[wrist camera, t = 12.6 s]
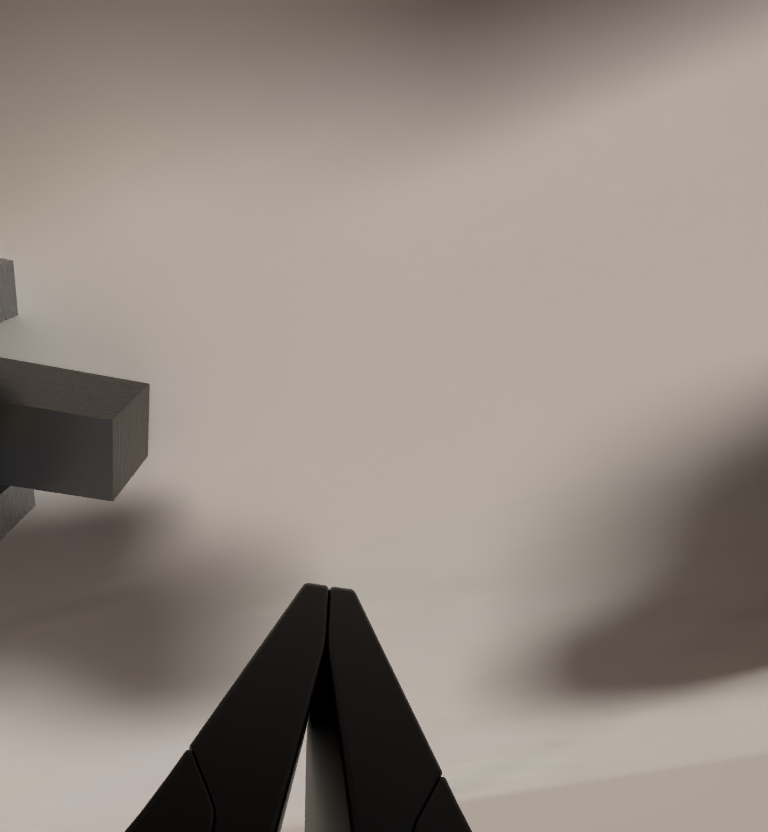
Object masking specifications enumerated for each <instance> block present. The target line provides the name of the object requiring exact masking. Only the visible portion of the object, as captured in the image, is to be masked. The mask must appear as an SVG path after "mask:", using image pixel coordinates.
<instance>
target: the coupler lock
mask: <svg viewBox="0 0 768 832" xmlns="http://www.w3.org/2000/svg"><path fill="white" fill-rule="evenodd" d="M16 315H18V310H17V299H16V288H15V277H14V266H13V260H7V259H2V258H0V322H2V321H4V320H7V319H9V318H12V317H14V316H16ZM34 506H35V498H34V489H29V488H22V487H15V486H9V485H2V484H0V541H1V540H2V539H3V537H4V536H5V535H6V534H7V533H8V532H9V531H10V530H11V529H12V528H13V527H14V526H15V525H16V524H17V523H18V522H19V521H20V520H21V519H22V518H23V517H24V516H25V515H26V514H27V513H28V512H29V511H30V510H31V509H32V508H33V507H34Z"/></svg>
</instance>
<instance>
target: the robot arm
mask: <svg viewBox="0 0 768 832" xmlns="http://www.w3.org/2000/svg"><path fill="white" fill-rule="evenodd" d="M307 722H308V726H307ZM306 727H307V744H306V794H305V832H472V831H471V829H470V827H469V825H468V823H467V821H466V819H465V817H464V815H463V813H462V811H461V810H460V808H459V806H458V804H457V801H456V799H455V797H454V795H453V793H452V791H451V789H450V787H449V785H448V783H447V781H446V779H445V777H441V775H442V771H441V769H440V767H439V765H438V763H437V760H436V758H435V756H434V754H433V752H432V750H431V748H430V746H429V744H428V742H427V740H426V738H425V736H424V734H423V732H422V729H421V727H420V725H419V723H418V721H417V719H416V717H415V715H414V713H413V711H412V709H411V707H410V705H409V703H408V700H407V698H406V696H405V694H404V692H403V690H402V688H401V686H400V684H399V682H398V680H397V678H396V676H395V674H394V672H393V669H392V667H391V665H390V663H389V661H388V659H387V657H386V655H385V653H384V651H383V649H382V647H381V645H380V643H379V641H378V638H377V636H376V634H375V632H374V630H373V628H372V626H371V624H370V622H369V620H368V618H367V616H366V614H365V612H364V610H363V607H362V605H361V603H360V601H359V599H358V597H357V595H356V593H355V592H354V591H353V590H351V589H346V588H339V587H332V588H330V590H329V589H328V587H327V586H325V585H318V584H311V583H306V584H304V585H303V586H302V588H301V589H300V591H299V592H298V593H297V595H296V596H295V598H294V599H293V600H292V602H291V603H290V605H289V606H288V608H287V609H286V610H285V612H284V613H283V615H282V616H281V617H280V619H279V620H278V622H277V623H276V624H275V626H274V627H273V629H272V630H271V632H270V633H269V634H268V636H267V637H266V639H265V640H264V641H263V643H262V644H261V646H260V647H259V649H258V650H257V651H256V653H255V654H254V656H253V657H252V658H251V660H250V661H249V663H248V664H247V666H246V667H245V668H244V670H243V671H242V673H241V674H240V675H239V677H238V678H237V680H236V681H235V682H234V684H233V685H232V687H231V688H230V690H229V691H228V692H227V694H226V695H225V697H224V698H223V699H222V701H221V702H220V704H219V705H218V707H217V708H216V709H215V711H214V712H213V714H212V715H211V716H210V718H209V719H208V721H207V722H206V723H205V725H204V726H203V728H202V729H201V731H200V732H199V733H198V735H197V736H196V738H195V739H194V740H193V742H192V743H191V745H190V747H189V750H187V751H185V753H184V754H183V756H182V757H181V758H180V760H179V761H178V763H177V764H176V765H175V767H174V768H173V770H172V771H171V772H170V774H169V775H168V777H167V778H166V779H165V781H164V782H163V783H162V785H161V786H160V787H159V789H158V790H157V791H156V793H155V794H154V795H153V797H152V798H151V799H150V801H149V802H148V803H147V805H146V806H145V807H144V809H143V810H142V811H141V813H140V814H139V815H138V816H137V817H136V819H135V820H134V821H133V822H132V823H131V825H130V826H129V827H128V828H127V829H126V831H125V832H280V831H281V827H282V823H283V819H284V815H285V811H286V807H287V803H288V799H289V795H290V791H291V787H292V783H293V779H294V775H295V771H296V767H297V763H298V759H299V755H300V751H301V747H302V743H303V739H304V735H305V731H306Z"/></svg>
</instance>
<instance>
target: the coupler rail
mask: <svg viewBox="0 0 768 832" xmlns="http://www.w3.org/2000/svg"><path fill="white" fill-rule="evenodd" d="M148 422H149V384H147V383H141V382H135V381H130V380H124V379H118V378H113V377H107V376H101V375H96V374H90V373H84V372H79V371H73V370H68V369H62V368H56V367H51V366H45V365H39V364H34V363H28V362H22V361H17V360H11V359H5V358H0V484H2V485H9V486H15V487H22V488H29V489H35V490H42V491H48V492H55V493H62V494H68V495H75V496H81V497H88V498H95V499H101V500H108V501H114V499H115V498H116V497H117V495H118V494H119V493H120V492H121V490H122V489H123V488H124V486H125V485H126V484H127V482H128V481H129V480H130V478H131V477H132V476H133V475H134V473H135V472H136V471H137V469H138V468H139V467H140V465H141V464H142V463H143V462H144V460H145V459H146V458H147V456H148Z"/></svg>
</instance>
